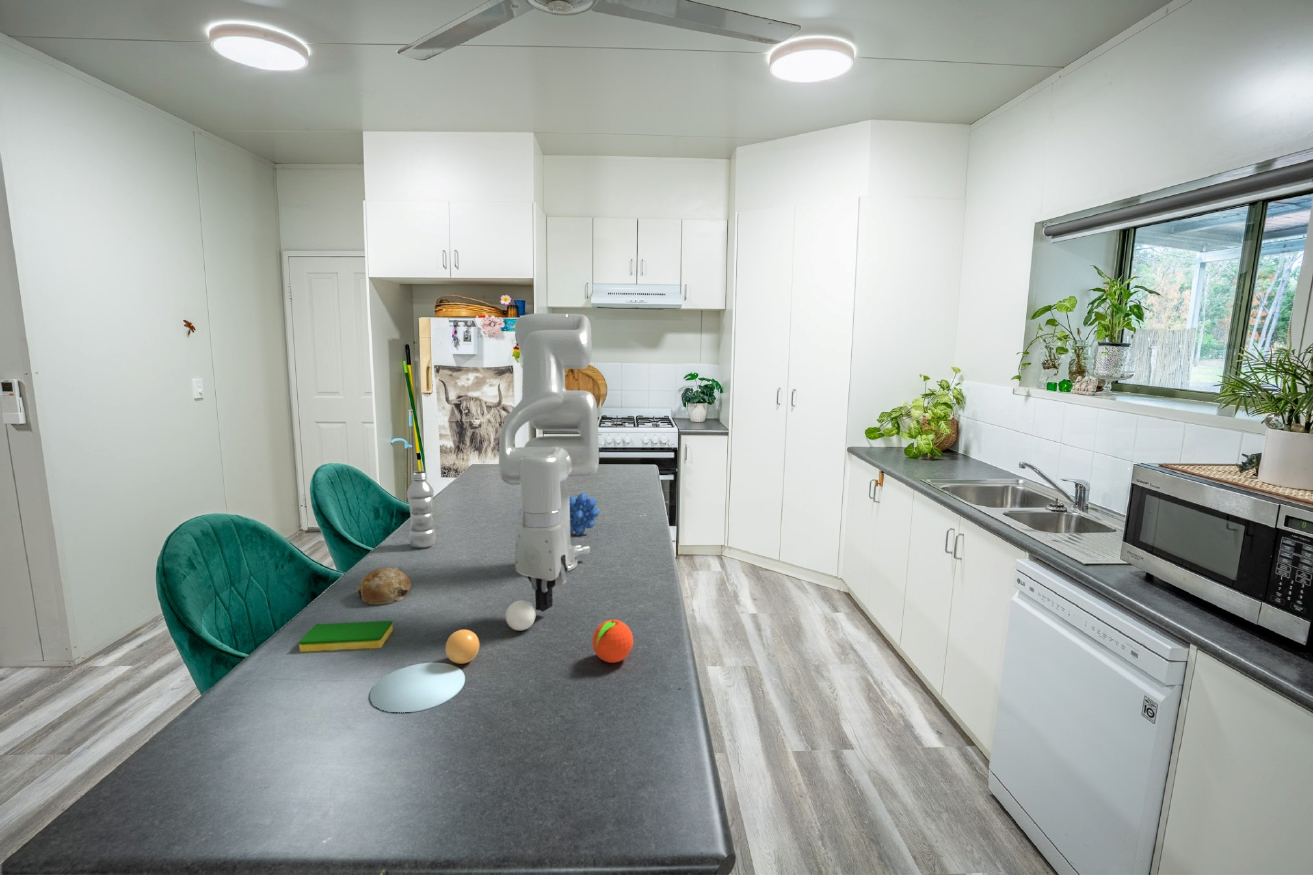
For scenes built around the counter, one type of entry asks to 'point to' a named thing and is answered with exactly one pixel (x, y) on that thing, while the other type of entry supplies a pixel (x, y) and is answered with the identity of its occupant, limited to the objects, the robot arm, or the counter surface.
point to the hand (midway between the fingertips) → (544, 608)
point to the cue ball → (520, 615)
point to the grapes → (582, 513)
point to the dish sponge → (346, 636)
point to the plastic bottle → (421, 511)
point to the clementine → (612, 641)
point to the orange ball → (462, 646)
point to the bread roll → (384, 586)
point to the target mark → (417, 687)
